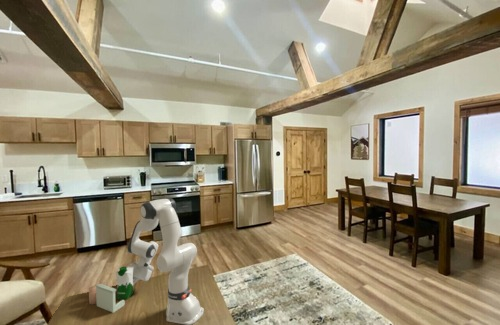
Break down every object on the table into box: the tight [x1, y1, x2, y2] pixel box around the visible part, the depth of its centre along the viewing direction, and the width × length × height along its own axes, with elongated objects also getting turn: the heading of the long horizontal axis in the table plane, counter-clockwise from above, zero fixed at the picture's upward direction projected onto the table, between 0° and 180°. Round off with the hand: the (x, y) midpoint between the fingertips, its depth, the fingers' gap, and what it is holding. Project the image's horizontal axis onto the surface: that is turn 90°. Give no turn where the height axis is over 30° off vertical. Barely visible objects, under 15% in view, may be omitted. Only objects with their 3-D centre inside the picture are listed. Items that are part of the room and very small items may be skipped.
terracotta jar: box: [88, 284, 97, 305], centre depth 144 cm, size 6×6×9 cm
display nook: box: [95, 283, 126, 314], centre depth 140 cm, size 15×8×13 cm, turn 67°
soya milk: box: [115, 266, 135, 300], centre depth 149 cm, size 9×9×20 cm
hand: (131, 284), depth 154 cm, fingers closed
